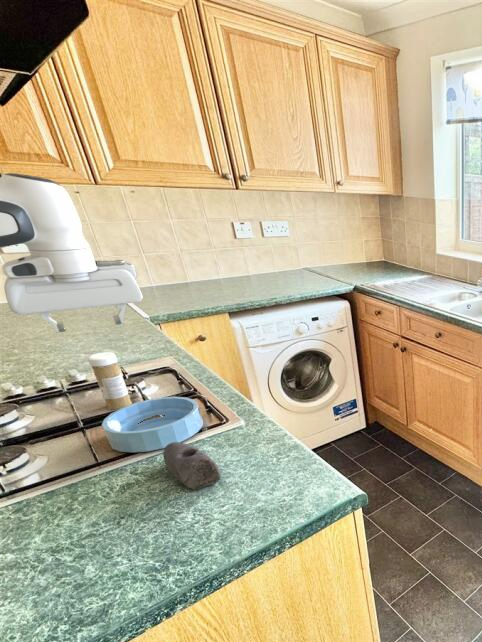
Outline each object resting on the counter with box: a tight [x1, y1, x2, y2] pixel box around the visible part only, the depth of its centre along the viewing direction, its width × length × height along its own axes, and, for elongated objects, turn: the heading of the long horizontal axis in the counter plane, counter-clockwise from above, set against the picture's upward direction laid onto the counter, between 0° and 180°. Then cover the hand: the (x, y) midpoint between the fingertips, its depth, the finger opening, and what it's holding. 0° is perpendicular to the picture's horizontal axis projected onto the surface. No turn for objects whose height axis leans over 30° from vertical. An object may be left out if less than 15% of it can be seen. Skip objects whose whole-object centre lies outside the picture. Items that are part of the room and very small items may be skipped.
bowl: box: [101, 396, 204, 454], centre depth 89 cm, size 16×16×6 cm
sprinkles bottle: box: [87, 351, 133, 410], centre depth 97 cm, size 5×5×13 cm
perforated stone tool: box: [163, 442, 221, 491], centre depth 77 cm, size 15×5×7 cm, turn 56°
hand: (91, 327), depth 91 cm, fingers open, 8 cm apart
